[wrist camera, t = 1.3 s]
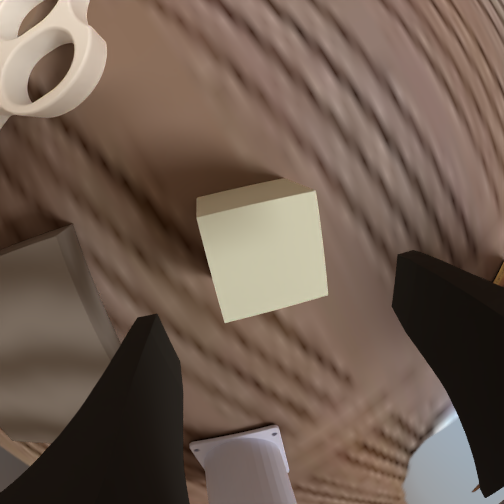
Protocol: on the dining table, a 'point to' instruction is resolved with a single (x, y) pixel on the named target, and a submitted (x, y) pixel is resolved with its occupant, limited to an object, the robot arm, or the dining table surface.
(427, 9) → the dining table surface
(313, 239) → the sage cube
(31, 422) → the taupe base
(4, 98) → the white brass knuckles
